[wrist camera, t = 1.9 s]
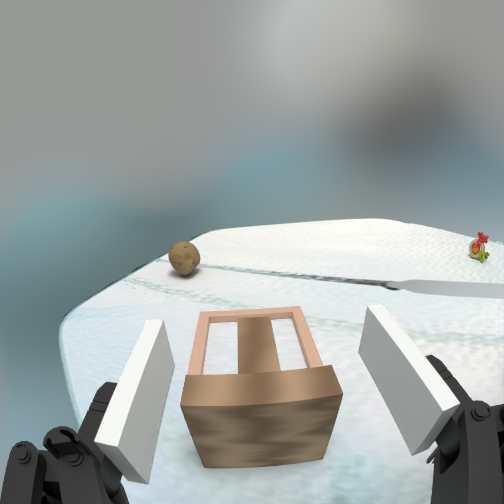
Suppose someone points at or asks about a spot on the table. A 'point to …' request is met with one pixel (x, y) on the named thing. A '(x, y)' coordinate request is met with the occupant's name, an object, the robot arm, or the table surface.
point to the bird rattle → (476, 248)
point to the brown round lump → (184, 257)
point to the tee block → (261, 407)
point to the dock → (231, 316)
